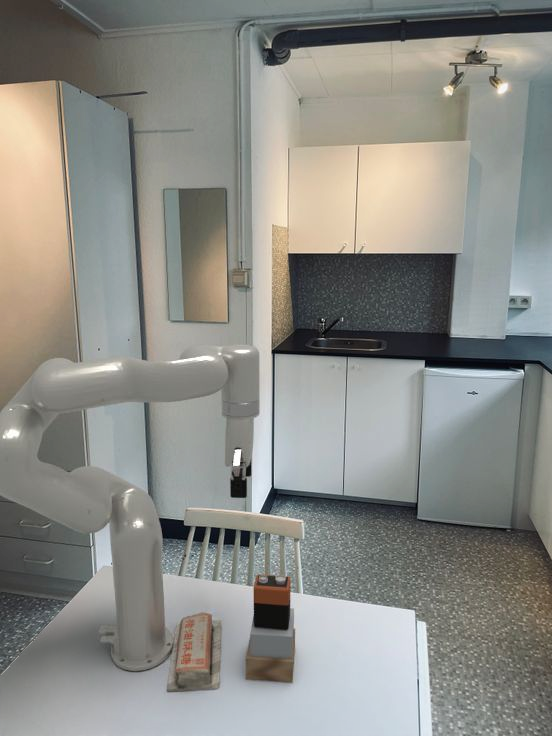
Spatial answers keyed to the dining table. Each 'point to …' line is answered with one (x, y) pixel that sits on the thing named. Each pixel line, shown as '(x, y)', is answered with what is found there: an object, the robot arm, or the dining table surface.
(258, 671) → the bottom block
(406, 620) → the dining table surface
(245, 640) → the dining table surface
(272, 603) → the battery
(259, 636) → the top block
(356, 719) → the dining table surface
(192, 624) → the packaged product
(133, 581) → the robot arm
